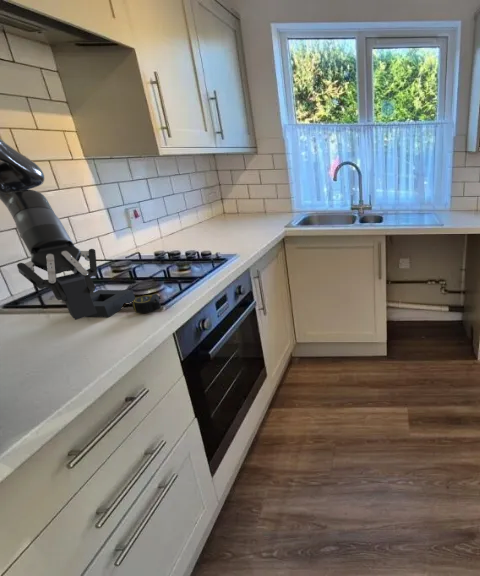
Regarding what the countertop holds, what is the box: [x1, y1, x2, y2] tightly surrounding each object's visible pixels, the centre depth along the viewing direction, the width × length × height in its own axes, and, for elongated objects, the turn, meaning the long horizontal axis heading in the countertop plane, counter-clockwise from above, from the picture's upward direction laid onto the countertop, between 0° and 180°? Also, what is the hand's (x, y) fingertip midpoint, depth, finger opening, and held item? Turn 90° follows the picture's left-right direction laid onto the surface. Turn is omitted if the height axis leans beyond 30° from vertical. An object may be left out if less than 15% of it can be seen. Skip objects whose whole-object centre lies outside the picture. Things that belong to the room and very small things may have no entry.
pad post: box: [56, 272, 97, 321], centre depth 79 cm, size 4×4×9 cm
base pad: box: [86, 289, 136, 318], centre depth 106 cm, size 11×11×4 cm
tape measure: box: [131, 293, 161, 314], centre depth 104 cm, size 7×7×4 cm
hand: (78, 295), depth 78 cm, fingers closed on pad post, 4 cm apart
